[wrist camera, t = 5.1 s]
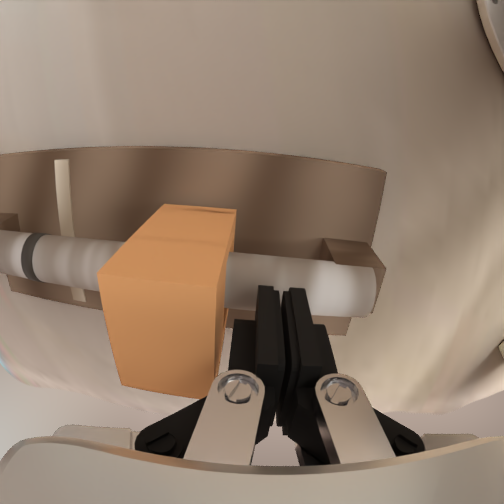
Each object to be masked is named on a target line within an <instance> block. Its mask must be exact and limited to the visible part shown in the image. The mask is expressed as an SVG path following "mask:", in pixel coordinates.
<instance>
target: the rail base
mask: <svg viewBox="0 0 504 504" xmlns="http://www.w3.org/2000/svg"><path fill="white" fill-rule="evenodd" d="M386 174H387V172H385V171H383V170H381V169H377V168H372V167H366V166H361V165H355V164H349V163H343V162H336V161H330V160H323V159H316V158H308V157H300V156H292V155H284V154H274V153H265V152H254V151H242V150H229V149H214V148H195V147H165V146H112V147H83V148H65V149H51V150H39V151H28V152H19V153H10V154H2V155H0V273H4V274H7V277H8V281H9V284H10V288H11V291H15V292H19V293H23V294H27V295H31V296H36V297H40V298H44V299H49V300H53V301H58V302H63V303H68V304H73V305H78V306H83V307H88V308H93V309H99V310H103V307H102V301H101V296H100V290H99V285H98V278H97V272H98V271H99V270H100V269H101V268H102V267H103V266H104V264H105V263H106V262H107V261H108V260H109V259H110V258H111V257H112V256H113V255H114V254H115V253H116V252H117V251H118V250H119V248H120V247H121V246H122V245H123V244H124V243H125V242H126V241H127V240H128V239H129V238H130V237H131V236H132V235H133V234H134V233H135V232H136V231H137V230H138V229H139V228H140V227H141V226H142V225H143V224H144V223H145V222H146V221H147V220H148V219H149V218H150V217H151V216H152V215H153V214H154V213H155V212H156V211H157V210H158V209H159V208H160V207H161V206H163V205H164V204H173V205H188V206H201V207H214V208H226V209H237V211H236V225H235V238H234V252H229V255H228V259H227V264H226V282H225V301H224V308H229V309H228V315H227V321H226V328H233V326H234V319H244V320H255V311H256V302H257V292H258V285H266V286H274V290H279V293H280V304H281V302H282V295H283V291H289V288H290V287H294V288H305V290H306V295H307V299H308V303H309V307H310V312H311V316H312V321H313V324H324V325H325V327H326V330H327V334H328V335H345V336H346V333H347V330H348V327H349V323H350V320H351V317H360V318H365V317H367V316H368V315H369V314H370V313H373V310H374V307H375V304H376V301H377V298H378V294H379V291H380V288H381V285H382V282H383V278H384V275H385V272H386V268H385V266H384V265H383V263H382V262H381V261H380V259H379V258H378V257H377V255H376V254H375V253H374V251H373V250H372V248H371V245H372V241H373V237H374V232H375V228H376V224H377V219H378V214H379V210H380V205H381V200H382V195H383V190H384V185H385V179H386Z"/></svg>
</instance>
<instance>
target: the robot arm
mask: <svg viewBox="0 0 504 504" xmlns="http://www.w3.org/2000/svg"><path fill="white" fill-rule="evenodd" d="M477 5H478V10H479V15H480V18H481V21H482V24H483V27H484V30H485V33H486V36H487V38H488V40H489V43H490V45H491V48H492V50H493V52H494V54H495V56H496V59H497V61H498V63H499V65H500V67H501V69H502V70H503V72H504V0H477ZM275 413H276V423H277V426H282V431H283V435H288V437H289V438H290V439H292V440H293V441H294V442H296V443H295V450H296V454H297V457H298V462H299V465H300V466H251V462H252V458H253V454H254V449H255V445H256V444H258V443H259V442H260V441H261V440H263V439H264V438H266V437H267V436H268V432H269V427H270V426H272V425H273V421H274V417H275ZM0 504H504V436H498V437H486V438H478V437H476V436H475V435H472V434H424V435H423V436H422V437H420V436H419V435H418V434H416V433H415V432H414V431H412V430H410V429H408V428H407V427H405V426H403V425H401V424H400V423H398V422H396V421H394V420H393V419H391V418H389V417H388V416H386V415H384V414H382V413H381V412H379V411H377V410H376V409H374V408H372V406H371V404H370V402H369V400H368V398H367V396H366V394H365V392H364V390H363V388H362V386H361V385H360V384H359V382H357V381H356V380H355V379H354V378H352V377H350V376H348V375H344V374H338V372H337V368H336V364H335V360H334V356H333V352H332V349H331V345H330V341H329V337H328V334H327V330H326V327H325V325H324V324H313V321H312V316H311V312H310V307H309V303H308V299H307V295H306V290H305V288H294V287H290V288H289V291H283V295H282V302H281V304H280V293H279V290H274V286H266V285H258V292H257V302H256V311H255V320H244V319H234V326H233V334H232V342H231V350H230V359H229V367H228V371H226V372H223V373H221V374H220V375H218V376H217V377H216V378H215V379H214V381H213V383H212V385H211V388H210V390H209V393H208V396H206V397H204V398H202V399H200V400H198V401H197V402H195V403H193V404H191V405H189V406H187V407H185V408H184V409H182V410H180V411H178V412H176V413H174V414H172V415H170V416H168V417H166V418H164V419H162V420H160V421H158V422H156V423H154V424H152V425H150V426H148V427H146V428H145V429H143V430H142V431H141V432H135V431H133V432H132V431H131V429H130V428H110V427H94V426H82V425H65V426H62V427H60V428H58V429H57V430H56V431H55V433H54V434H53V436H46V437H34V438H29V439H25V440H22V441H20V442H18V443H16V444H15V445H14V446H12V448H10V449H9V450H8V451H7V453H6V454H5V455H4V456H3V458H2V459H1V461H0Z"/></svg>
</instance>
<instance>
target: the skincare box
mask: <svg viewBox="0 0 504 504" xmlns="http://www.w3.org/2000/svg"><path fill="white" fill-rule="evenodd" d="M499 350H500V352H501V354H502V356H503V358H504V341H503V342H502V343H501V344H500V345H499Z"/></svg>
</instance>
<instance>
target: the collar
mask: <svg viewBox="0 0 504 504" xmlns="http://www.w3.org/2000/svg"><path fill="white" fill-rule="evenodd" d="M236 211H237V209H226V208H214V207H201V206H188V205H173V204H164V205H163V206H161V207H160V208H159V209H158V210H157V211H156V212H155V213H154V214H153V215H152V216H151V217H150V218H149V219H148V220H147V221H146V222H145V223H144V224H143V225H142V226H141V227H140V228H139V229H138V230H137V231H136V232H135V233H134V234H133V235H132V236H131V237H130V238H129V239H128V240H127V241H126V242H125V243H124V244H123V245H122V246H121V247H120V248H119V250H118V251H117V252H116V253H115V254H114V255H113V256H112V257H111V258H110V259H109V260H108V261H107V262H106V263H105V264H104V266H103V267H102V268H101V269H100V270H99V271H98V272H97V278H98V285H99V290H100V296H101V301H102V307H103V312H104V316H105V321H106V326H107V330H108V335H109V339H110V343H111V347H112V351H113V355H114V359H115V363H116V367H117V370H118V374H119V377H120V381H121V384H122V385H123V386H128V387H132V388H137V389H142V390H147V391H152V392H158V393H163V394H169V395H175V396H182V397H188V398H195V399H202V398H204V397H206V396H208V393H209V390H210V388H211V385H212V383H213V381H214V379H215V378H216V377H217V376H218V371H219V365H220V358H221V352H222V346H223V340H224V334H225V327H226V321H227V315H228V309H229V308H224V301H225V282H226V264H227V259H228V255H229V252H234V238H235V225H236Z"/></svg>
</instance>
